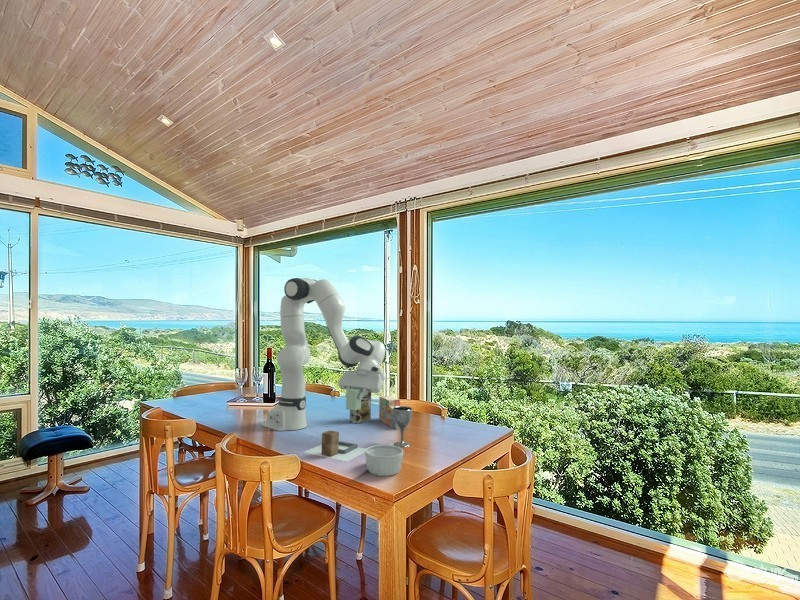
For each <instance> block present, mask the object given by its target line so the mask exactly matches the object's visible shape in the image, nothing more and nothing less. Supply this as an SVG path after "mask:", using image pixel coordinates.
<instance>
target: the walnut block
mask: <svg viewBox="0 0 800 600" xmlns="http://www.w3.org/2000/svg"><path fill="white" fill-rule="evenodd" d="M339 441H340V432H339V431H335V430H330V429H329V430H326V431H324V432H322V433H321V445H322V451H321V455H325V456H329V457H332V456H334V455H336V454H338V450H339Z"/></svg>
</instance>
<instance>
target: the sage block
mask: <svg viewBox="0 0 800 600" xmlns="http://www.w3.org/2000/svg"><path fill="white" fill-rule="evenodd" d="M361 390H362V389H354V388H352V389H348V390H347V392H346V393H347V394H346V393H345V395H346V397H345V398H346V399H345V410H349V411H350V410H358V409H361V400H359V399H358V398H357V396H358V394H361Z"/></svg>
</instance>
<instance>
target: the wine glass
mask: <svg viewBox="0 0 800 600" xmlns="http://www.w3.org/2000/svg"><path fill="white" fill-rule="evenodd" d="M393 415H394V421H395V423H396V424H397V425H398V427H399V428H400V429H399V430H400V436H401V437H400V438H401V439H400V441H395V442H394V443H393V446H394V445H395V446H398V447H400V448H406V447H407V446H408V447H410V446H411V443H410V442H408V441H407V442H406V441H404V432H405V429H407V428H408V426H409V424H410V423H411V421H412V418H413V408H412V407H410V406H405V405H402V406H401V405H400V406H398V407H394V408H393ZM406 427H407V428H406ZM409 443H410V444H409ZM409 445H410V446H409ZM408 447H407V448H408Z"/></svg>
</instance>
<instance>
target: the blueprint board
mask: <svg viewBox="0 0 800 600" xmlns="http://www.w3.org/2000/svg"><path fill="white" fill-rule="evenodd" d="M366 449H367V448H365V447H364V448H363V447H360V446H358V444H357V443H352V442H347V441H342V440H341V441H340V440H339V450H338V454H336V455H334V456H332V457H329V456H325V455H321V451H322V444H320V445H317V446H315V447H313V448H312V447H311V448H310V449H307V450H305V451H302V453H305V454H308V455H313V456H318V457H323V458H328V459H332V460H337V461H341V462H342V461H343V462H349V461H351V460H353V459H355V458H357V457H359V456H361V455H362V454H365V450H366Z"/></svg>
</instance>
